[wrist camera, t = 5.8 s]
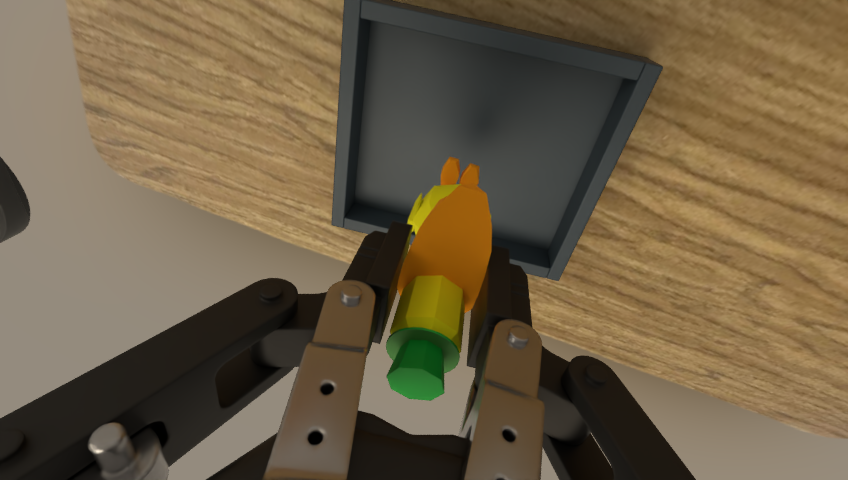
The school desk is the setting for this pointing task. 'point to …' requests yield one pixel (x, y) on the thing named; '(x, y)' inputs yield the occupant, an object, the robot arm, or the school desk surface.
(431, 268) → the toy figure
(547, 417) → the robot arm
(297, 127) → the school desk surface
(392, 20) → the tray
